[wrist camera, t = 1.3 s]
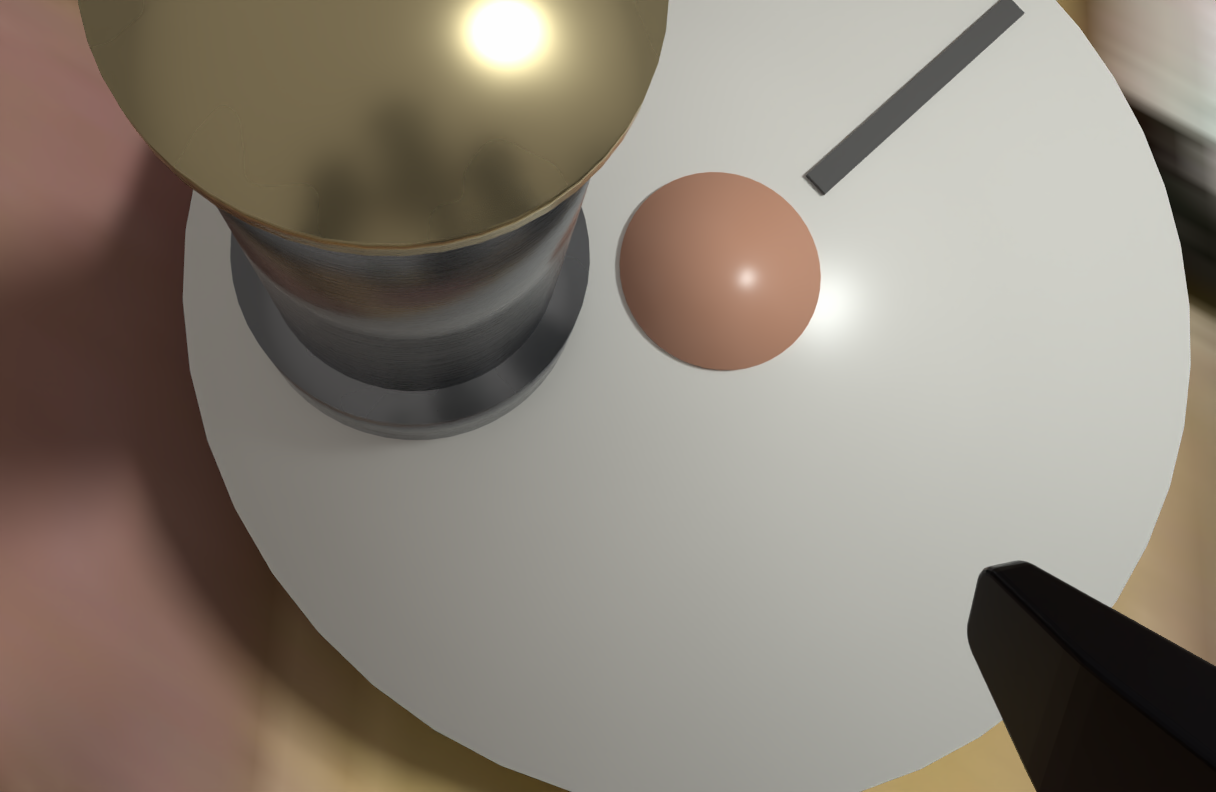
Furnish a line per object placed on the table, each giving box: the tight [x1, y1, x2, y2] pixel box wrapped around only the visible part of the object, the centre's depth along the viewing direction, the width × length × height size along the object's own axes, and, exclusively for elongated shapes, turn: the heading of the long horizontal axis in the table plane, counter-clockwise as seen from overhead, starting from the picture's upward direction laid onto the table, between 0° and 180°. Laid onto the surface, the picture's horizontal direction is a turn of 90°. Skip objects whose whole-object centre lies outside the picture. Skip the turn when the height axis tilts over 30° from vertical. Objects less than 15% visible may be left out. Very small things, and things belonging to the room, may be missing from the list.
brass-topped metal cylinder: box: [78, 0, 669, 440], centre depth 16 cm, size 7×7×11 cm
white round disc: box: [183, 0, 1191, 792], centre depth 23 cm, size 22×22×1 cm
